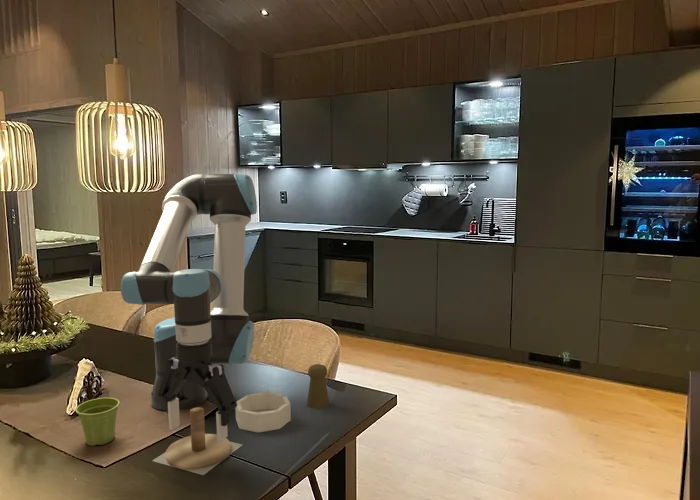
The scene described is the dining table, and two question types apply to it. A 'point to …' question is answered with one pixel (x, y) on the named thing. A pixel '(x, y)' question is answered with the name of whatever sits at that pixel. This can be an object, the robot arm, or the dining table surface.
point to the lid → (197, 446)
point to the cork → (317, 387)
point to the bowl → (262, 412)
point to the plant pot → (98, 420)
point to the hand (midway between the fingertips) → (197, 433)
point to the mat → (201, 471)
